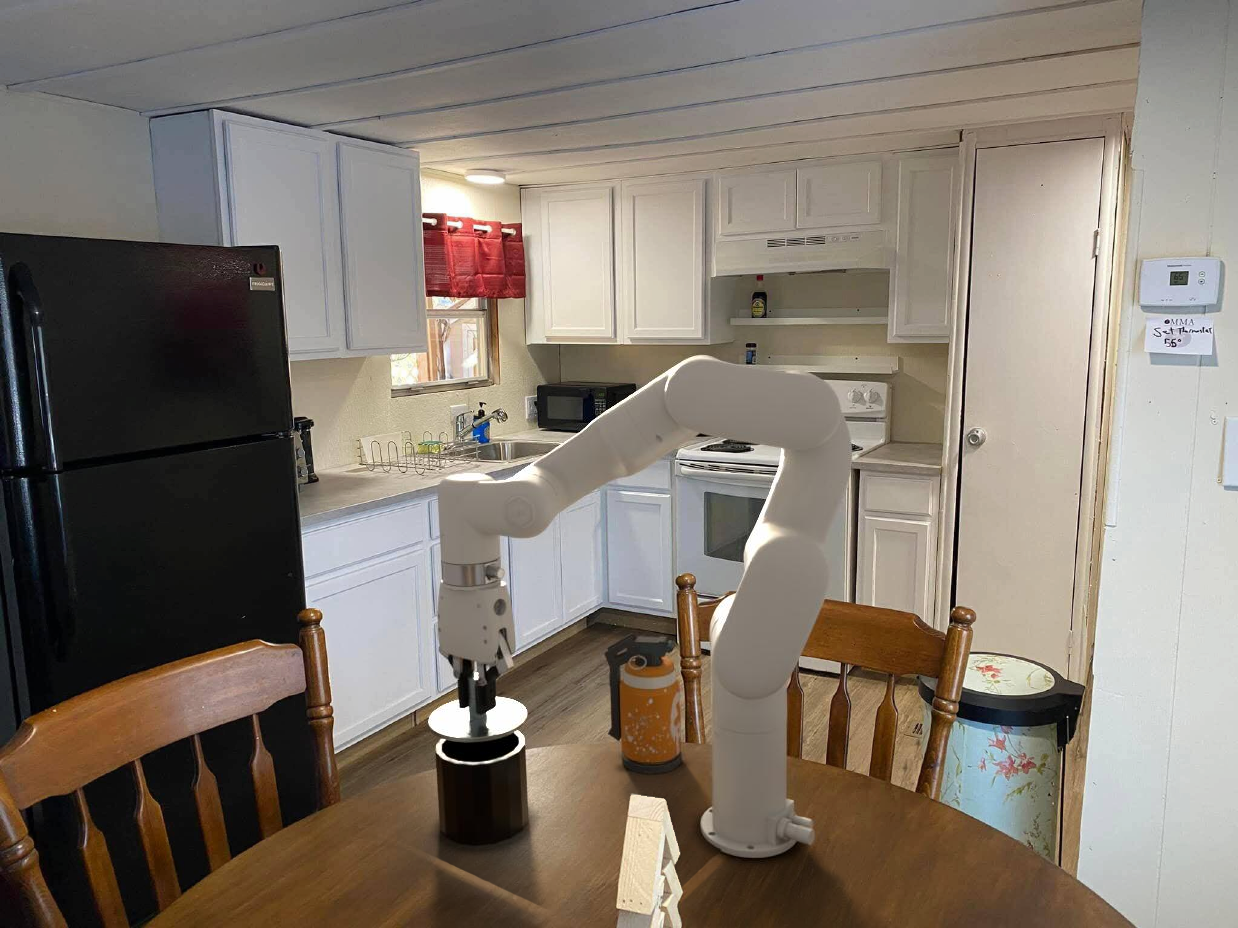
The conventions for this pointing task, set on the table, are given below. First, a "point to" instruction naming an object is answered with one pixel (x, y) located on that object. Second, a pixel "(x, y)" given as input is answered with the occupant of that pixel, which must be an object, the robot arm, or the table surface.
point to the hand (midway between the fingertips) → (477, 706)
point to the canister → (645, 703)
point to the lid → (477, 718)
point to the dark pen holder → (482, 789)
